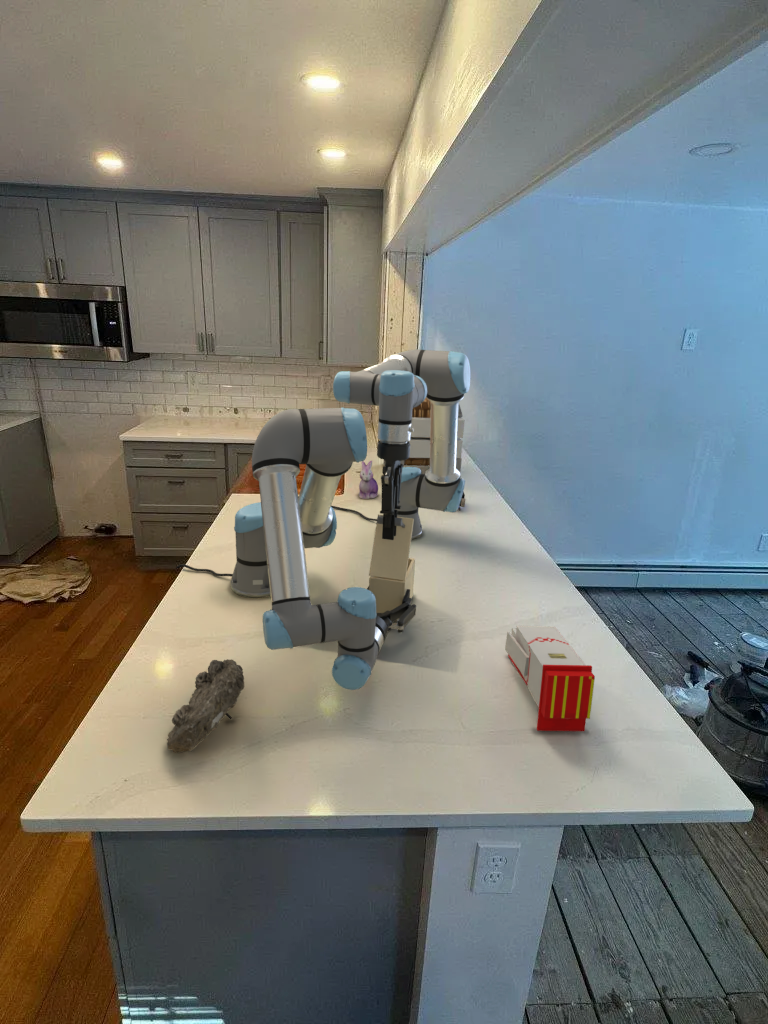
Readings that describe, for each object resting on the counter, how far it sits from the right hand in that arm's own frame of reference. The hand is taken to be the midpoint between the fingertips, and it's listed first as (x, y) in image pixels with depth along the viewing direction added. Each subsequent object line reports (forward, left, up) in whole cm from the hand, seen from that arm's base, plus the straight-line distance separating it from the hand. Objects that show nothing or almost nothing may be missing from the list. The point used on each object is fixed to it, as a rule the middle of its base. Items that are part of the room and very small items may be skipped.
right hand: (389, 536), depth 137 cm
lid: (-3, +3, -5) cm, 6 cm away
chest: (-5, +6, -23) cm, 24 cm away
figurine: (-80, +60, -23) cm, 103 cm away
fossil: (+7, -50, -23) cm, 55 cm away
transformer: (-94, +103, -23) cm, 142 cm away
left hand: (-3, +3, -17) cm, 17 cm away
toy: (+41, +9, -23) cm, 48 cm away
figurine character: (-50, +81, -23) cm, 98 cm away
